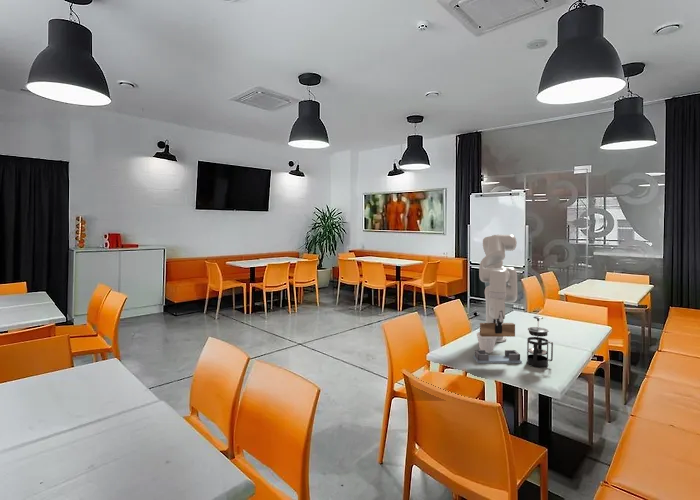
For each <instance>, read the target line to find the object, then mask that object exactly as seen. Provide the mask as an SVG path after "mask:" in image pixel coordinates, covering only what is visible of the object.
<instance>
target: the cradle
mask: <svg viewBox="0 0 700 500" xmlns="http://www.w3.org/2000/svg"><path fill="white" fill-rule="evenodd" d="M489 354H490V353H485V350H480V349H475V350H474V354H473V355H472V358H473V359H474V361H475V362H476V363H477V364H523V363H522V362H523V360H521V353H520V352H518V351H517V350H515V349H505V350H504V354H502V355H500V354H499V355H497V354H496V355H495V354H493V355H489Z"/></svg>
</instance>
